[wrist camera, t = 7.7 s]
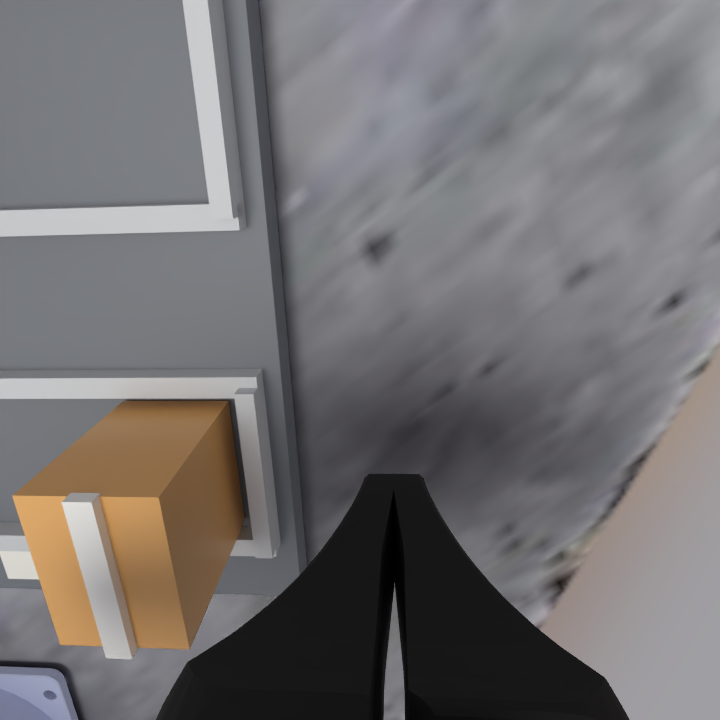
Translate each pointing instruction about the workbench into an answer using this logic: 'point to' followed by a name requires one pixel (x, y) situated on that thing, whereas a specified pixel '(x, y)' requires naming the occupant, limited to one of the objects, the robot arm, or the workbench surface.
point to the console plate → (143, 250)
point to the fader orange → (136, 525)
